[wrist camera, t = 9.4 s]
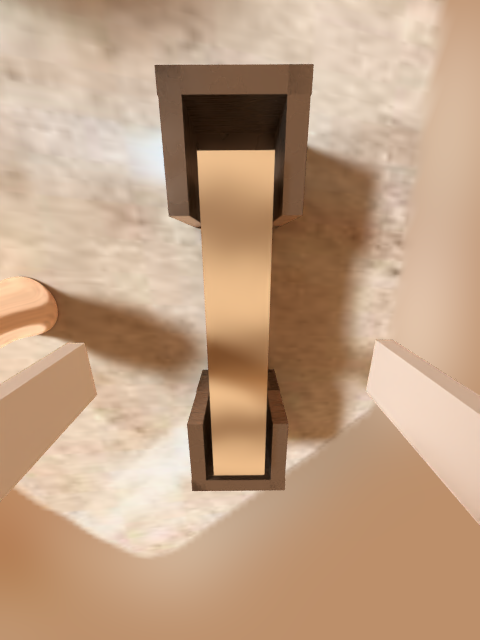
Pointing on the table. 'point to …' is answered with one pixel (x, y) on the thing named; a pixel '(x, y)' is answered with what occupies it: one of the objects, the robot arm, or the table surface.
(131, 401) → the table surface
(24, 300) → the shiny metal tumbler
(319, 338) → the table surface
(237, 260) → the rail
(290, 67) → the brackets
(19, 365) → the table surface
